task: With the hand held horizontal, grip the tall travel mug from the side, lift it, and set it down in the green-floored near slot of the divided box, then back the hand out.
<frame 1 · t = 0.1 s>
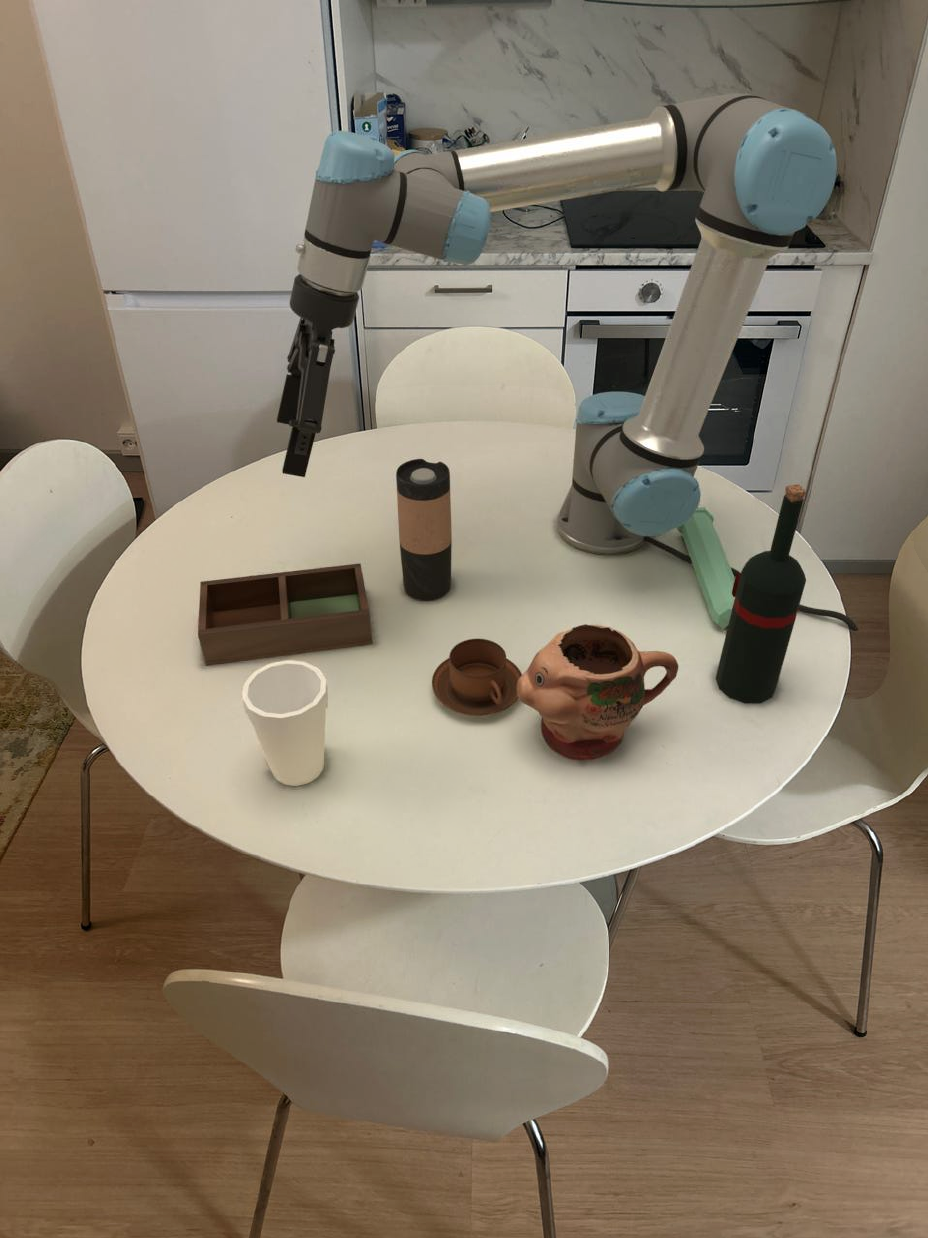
hand: (290, 447, 116), 28 cm above the table, tool tilted 20°, fingers open, 13 cm apart
container: (708, 582, 140), on the table
divided box: (288, 627, 132), on the table
wine bottle: (741, 678, 123), on the table
cup and saucer: (477, 692, 121), on the table
travel mug: (427, 587, 139), on the table
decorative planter: (592, 732, 116), on the table
foam cup: (298, 767, 111), on the table
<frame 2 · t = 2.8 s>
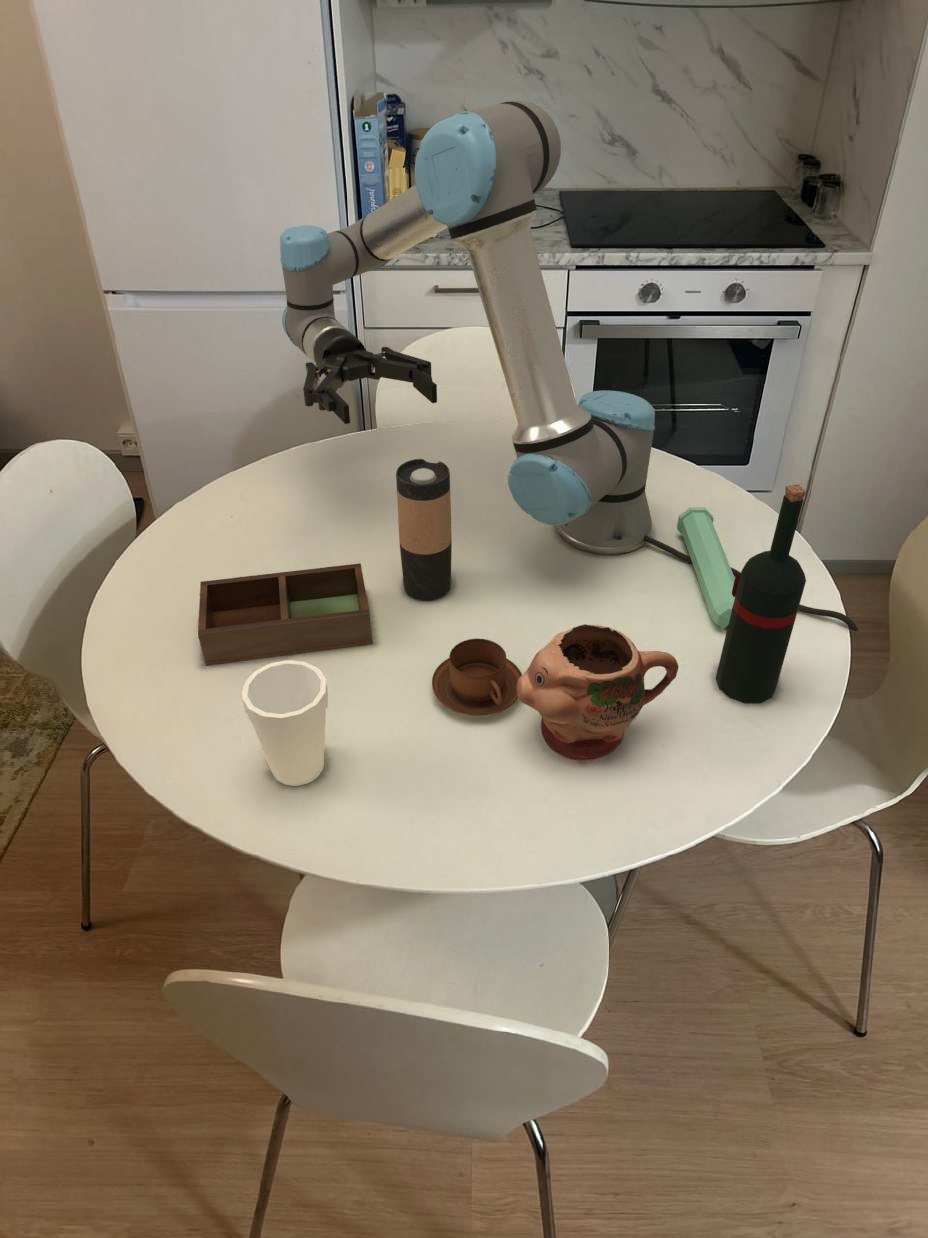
hand: (391, 404, 129), 26 cm above the table, tool horizontal, fingers open, 13 cm apart
nothing on the table moved.
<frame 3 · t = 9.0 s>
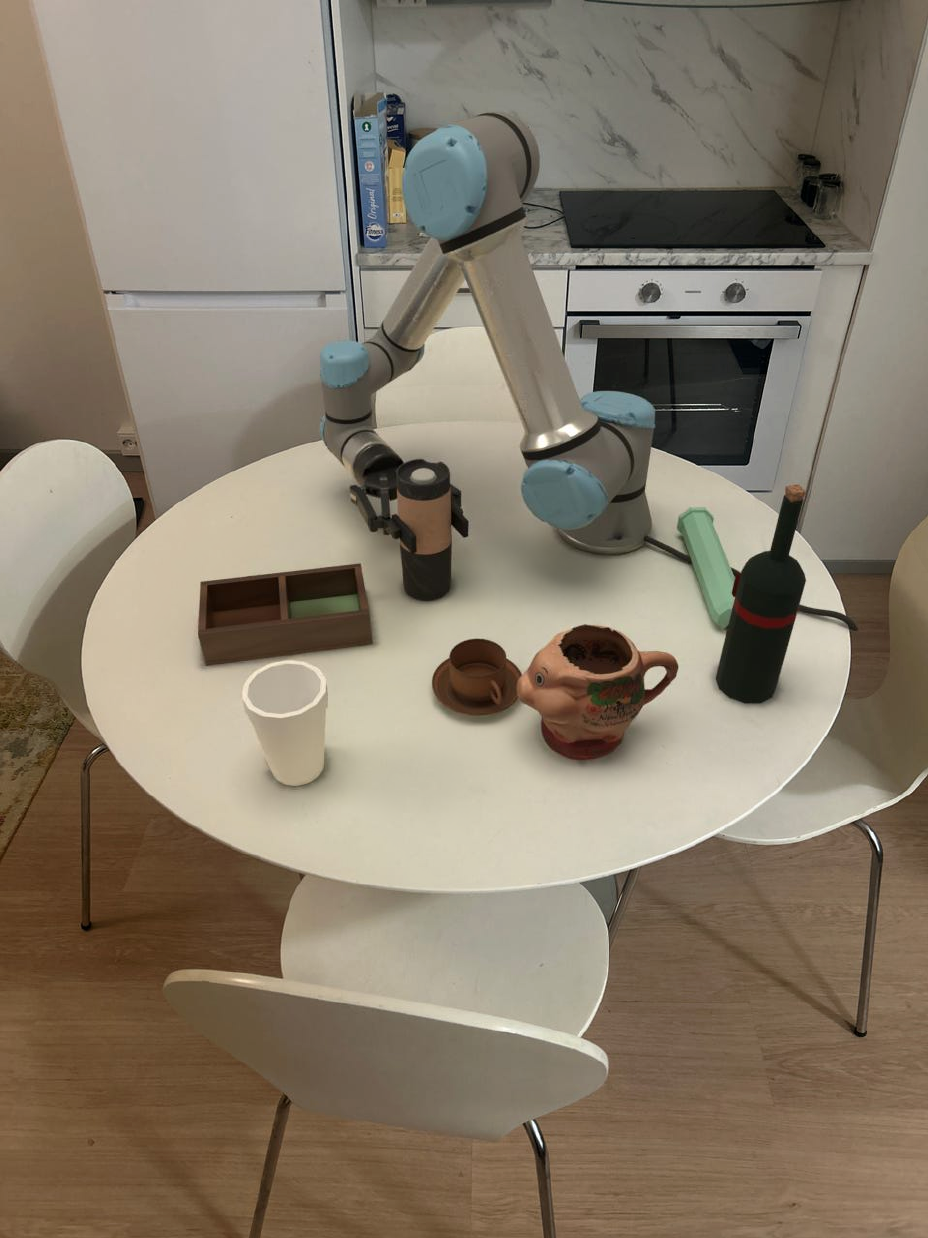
hand: (440, 536, 128), 12 cm above the table, tool horizontal, fingers closed on travel mug, 7 cm apart
travel mug: (427, 587, 139), on the table, touching gripper
everything else where it was.
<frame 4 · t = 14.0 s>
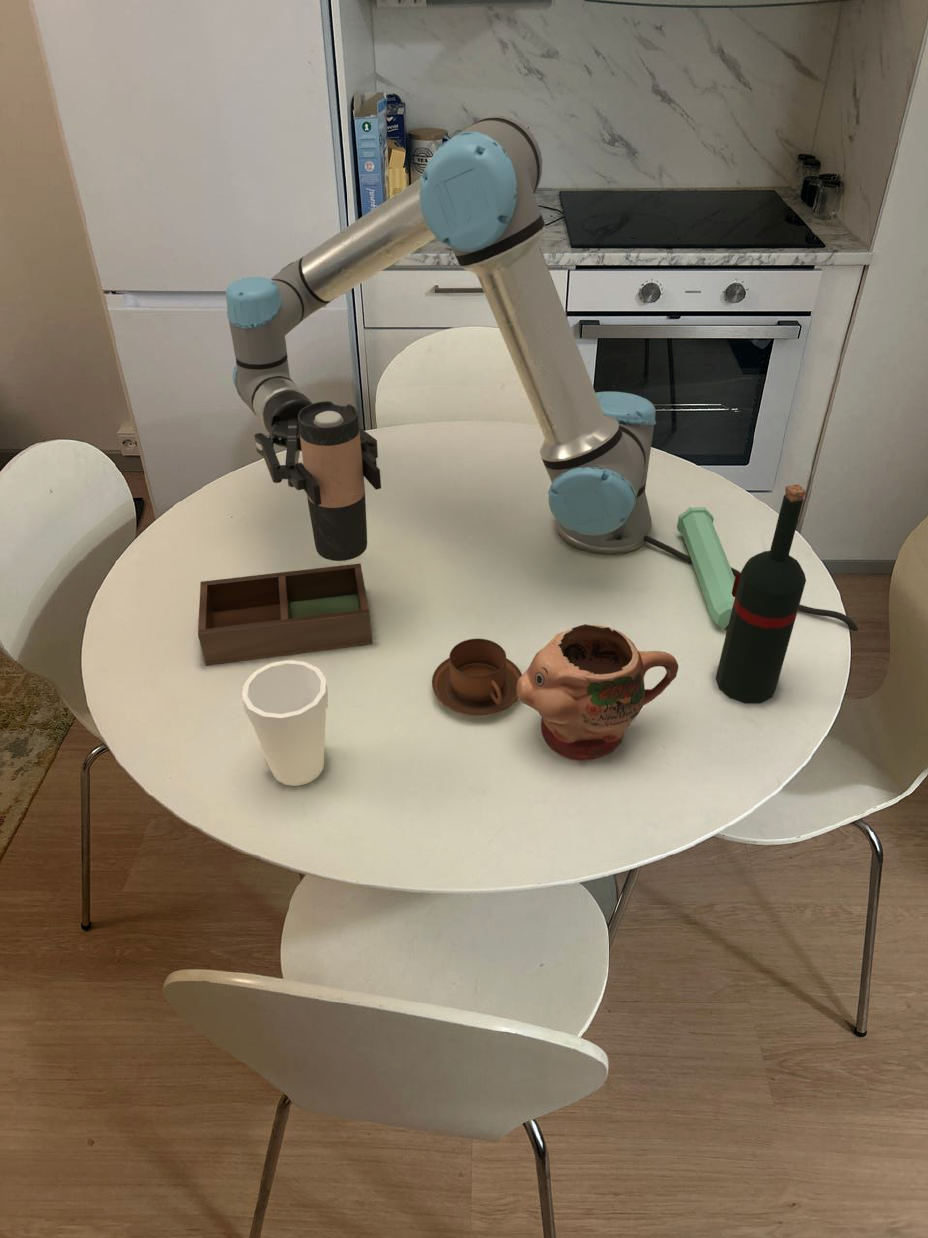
hand: (348, 487, 115), 24 cm above the table, tool horizontal, fingers closed on travel mug, 7 cm apart
travel mug: (341, 547, 126), point 12 cm above the table, touching gripper
everything else where it was.
when the fingers open (13 cm above the table, at t = 18.9 s): travel mug stays where it is, resting on divided box.
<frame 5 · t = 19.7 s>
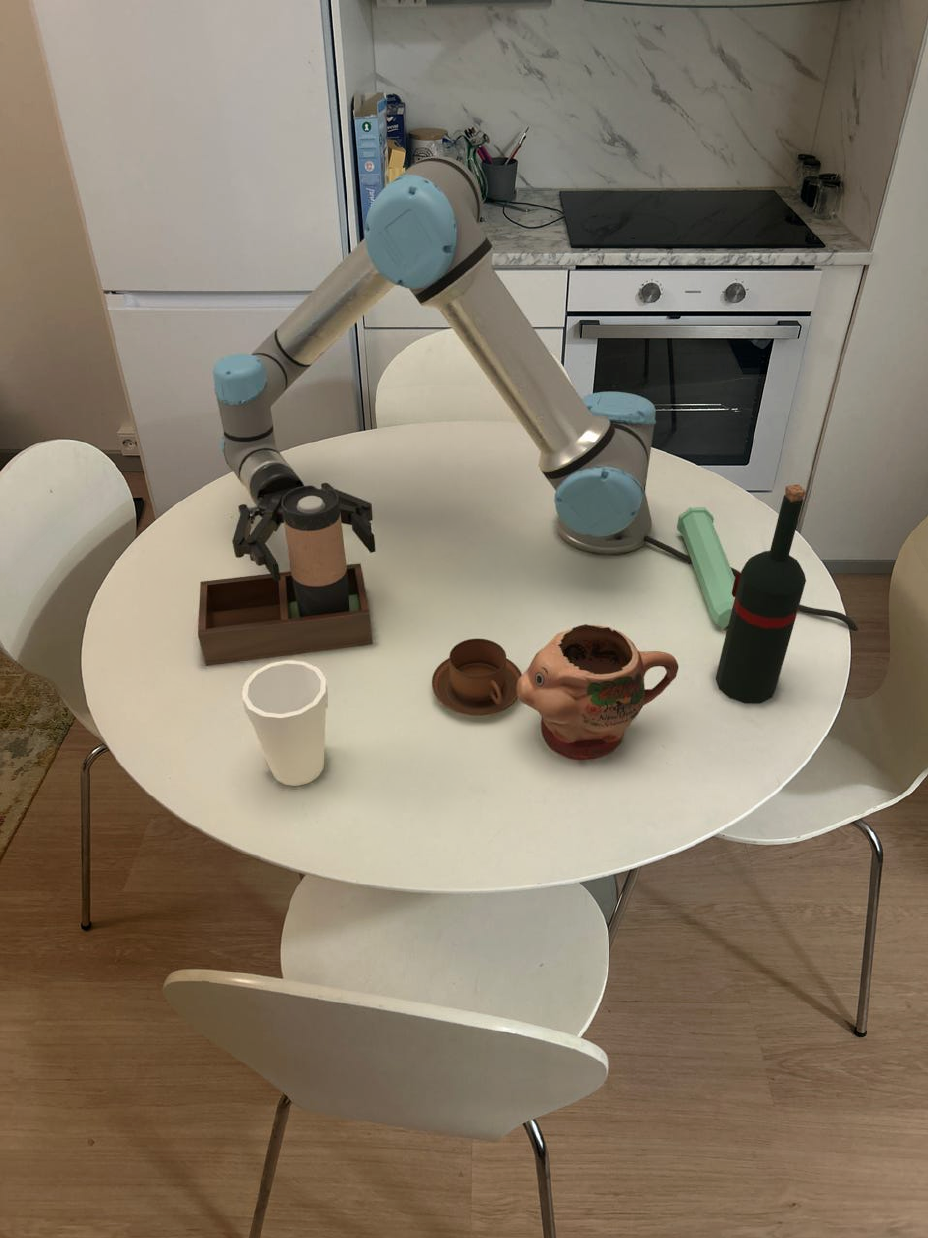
hand: (325, 558, 122), 14 cm above the table, tool horizontal, fingers open, 13 cm apart
travel mug: (325, 619, 132), point 1 cm above the table, touching divided box
everything else where it was.
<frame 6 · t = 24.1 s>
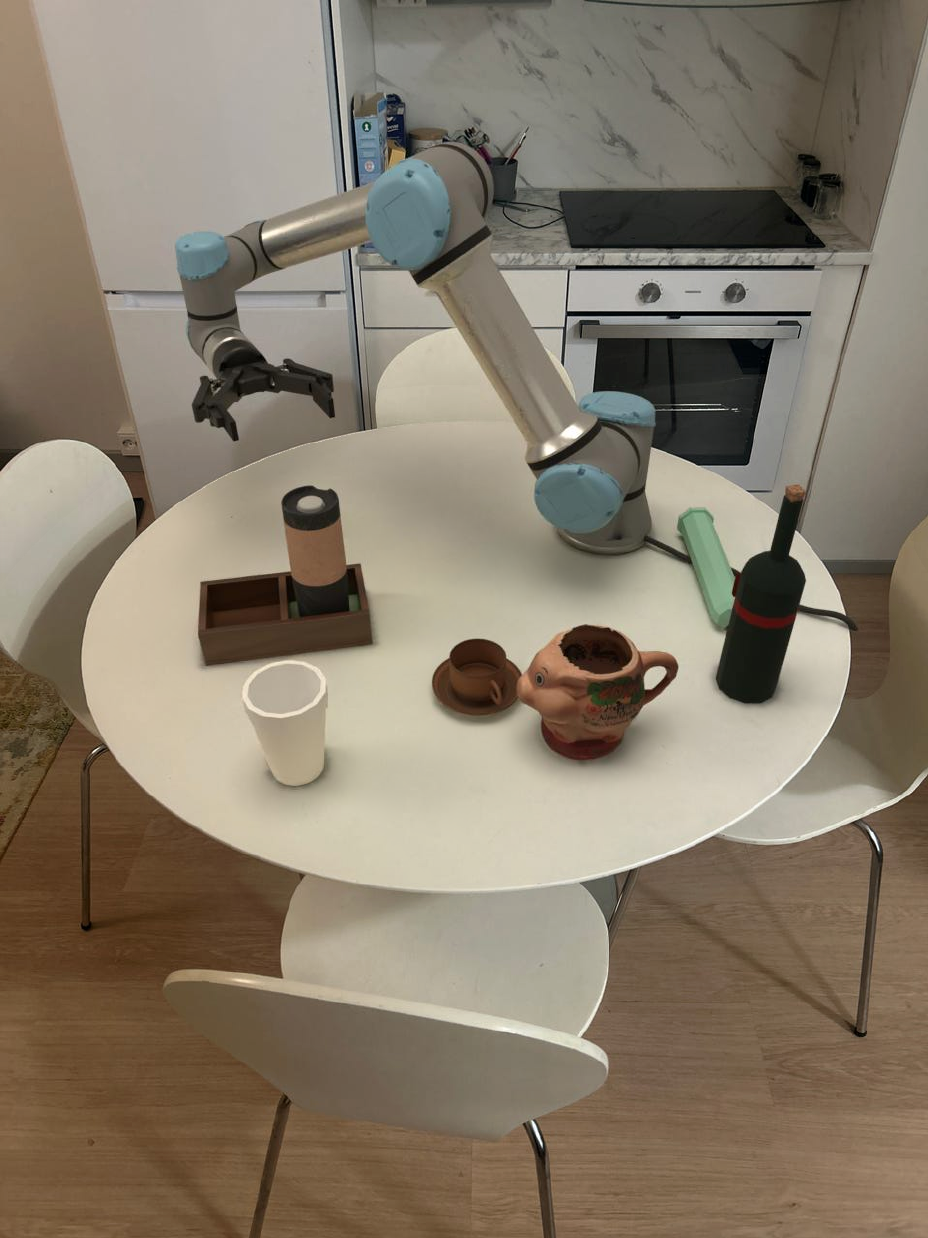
hand: (284, 419, 122), 28 cm above the table, tool horizontal, fingers open, 13 cm apart
nothing on the table moved.
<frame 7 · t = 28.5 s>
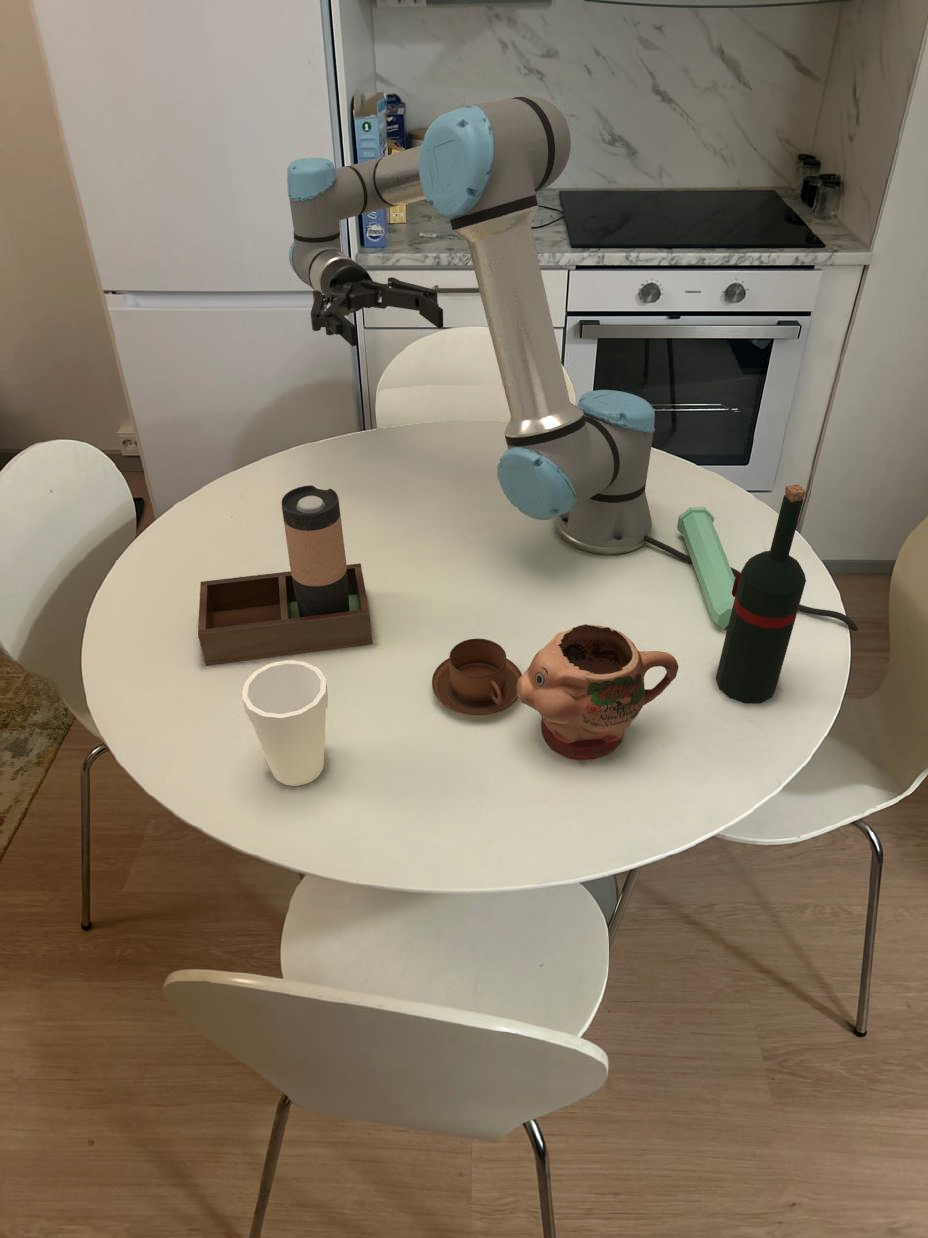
hand: (398, 327, 130), 34 cm above the table, tool horizontal, fingers open, 13 cm apart
nothing on the table moved.
at the end: travel mug 0.1 cm from the target spot in the divided box, point 0.6 cm above the divided box's base; travel mug tilted 0°; the gripper is holding nothing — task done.
